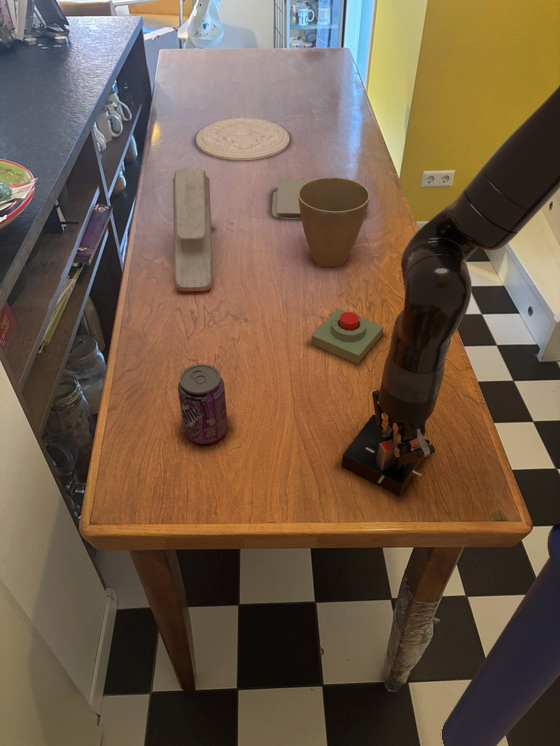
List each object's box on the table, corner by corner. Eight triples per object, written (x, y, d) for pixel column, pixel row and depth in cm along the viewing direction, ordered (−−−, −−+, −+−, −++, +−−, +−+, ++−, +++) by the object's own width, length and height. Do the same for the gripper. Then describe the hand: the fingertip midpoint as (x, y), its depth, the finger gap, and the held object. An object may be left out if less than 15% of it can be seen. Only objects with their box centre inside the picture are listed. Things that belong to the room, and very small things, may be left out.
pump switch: (382, 335, 116) (384, 319, 114) (357, 364, 110) (359, 348, 108) (337, 316, 120) (338, 300, 118) (311, 344, 114) (312, 327, 112)
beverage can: (178, 422, 100) (169, 370, 91) (217, 408, 102) (212, 356, 94) (193, 453, 95) (186, 400, 87) (234, 437, 98) (231, 385, 89)
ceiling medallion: (296, 157, 173) (296, 146, 171) (198, 162, 170) (197, 151, 168) (282, 119, 193) (282, 109, 191) (194, 123, 190) (193, 113, 188)
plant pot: (313, 235, 143) (317, 171, 132) (371, 252, 138) (380, 187, 127) (283, 266, 133) (285, 200, 122) (345, 285, 128) (352, 218, 117)
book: (273, 189, 159) (273, 175, 156) (360, 190, 159) (361, 176, 156) (271, 218, 148) (271, 204, 145) (365, 220, 148) (366, 206, 145)
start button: (361, 323, 113) (362, 316, 112) (352, 333, 111) (353, 326, 110) (345, 316, 115) (345, 309, 113) (335, 326, 113) (336, 319, 111)
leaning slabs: (184, 308, 142) (172, 285, 119) (182, 207, 144) (169, 165, 121) (217, 307, 142) (210, 283, 119) (214, 207, 145) (207, 165, 122)
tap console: (436, 457, 95) (440, 444, 93) (404, 509, 88) (408, 497, 86) (370, 426, 100) (373, 413, 97) (336, 473, 93) (337, 460, 90)
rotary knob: (404, 452, 92) (409, 432, 89) (410, 461, 91) (415, 440, 87) (375, 462, 90) (379, 442, 87) (381, 471, 89) (385, 451, 86)
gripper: (466, 407, 75) (439, 488, 87) (408, 340, 84) (391, 421, 96) (415, 425, 73) (394, 505, 85) (360, 354, 82) (349, 435, 94)
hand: (393, 460), depth 90 cm, fingers closed on rotary knob, 2 cm apart
